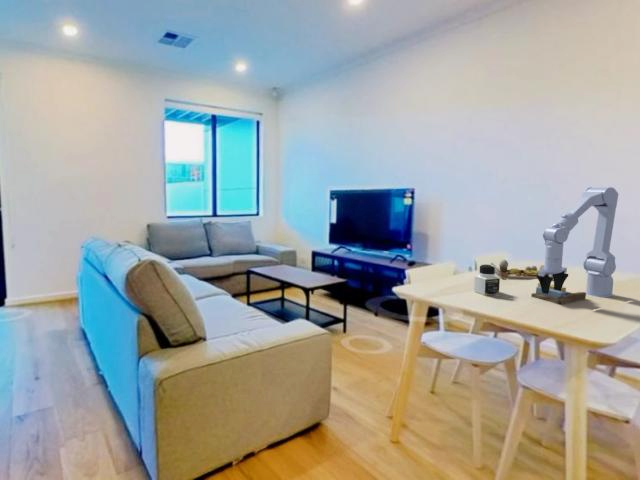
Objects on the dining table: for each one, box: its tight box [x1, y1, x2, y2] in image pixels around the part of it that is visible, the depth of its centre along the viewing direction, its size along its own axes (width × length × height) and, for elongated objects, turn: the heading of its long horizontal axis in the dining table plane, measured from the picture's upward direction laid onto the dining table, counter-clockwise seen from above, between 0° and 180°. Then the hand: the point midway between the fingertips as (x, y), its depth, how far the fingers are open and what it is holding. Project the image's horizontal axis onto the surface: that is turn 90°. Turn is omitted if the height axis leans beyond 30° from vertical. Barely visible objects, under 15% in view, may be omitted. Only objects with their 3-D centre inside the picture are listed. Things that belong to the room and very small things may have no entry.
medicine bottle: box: [473, 264, 501, 297], centre depth 165 cm, size 7×7×12 cm
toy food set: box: [490, 259, 553, 281], centre depth 197 cm, size 25×18×8 cm
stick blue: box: [535, 286, 567, 299], centre depth 154 cm, size 10×3×4 cm, turn 26°
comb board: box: [530, 291, 587, 305], centre depth 155 cm, size 12×15×3 cm
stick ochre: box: [537, 282, 567, 292], centre depth 161 cm, size 10×3×4 cm, turn 26°
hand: (551, 292), depth 154 cm, fingers open, 7 cm apart
